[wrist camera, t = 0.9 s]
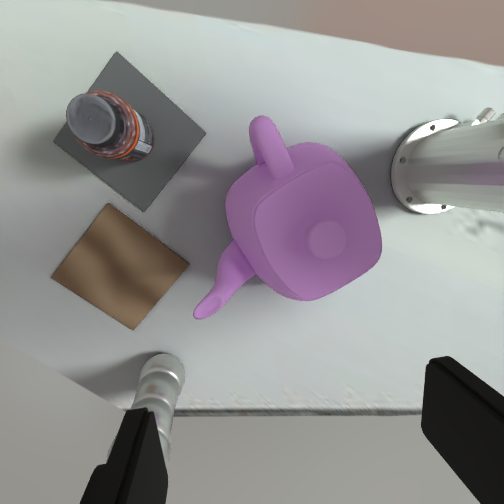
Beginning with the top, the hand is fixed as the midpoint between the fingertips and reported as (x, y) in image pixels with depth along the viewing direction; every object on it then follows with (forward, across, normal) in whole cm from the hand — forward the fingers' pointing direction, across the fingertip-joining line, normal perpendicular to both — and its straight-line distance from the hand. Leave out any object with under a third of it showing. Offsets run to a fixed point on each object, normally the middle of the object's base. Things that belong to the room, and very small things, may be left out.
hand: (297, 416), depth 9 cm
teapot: (+31, -8, -1) cm, 32 cm away
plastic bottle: (+32, +13, +19) cm, 39 cm away
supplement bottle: (+31, +11, -14) cm, 36 cm away
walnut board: (+32, +16, +3) cm, 36 cm away
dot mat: (+31, +11, -14) cm, 36 cm away
